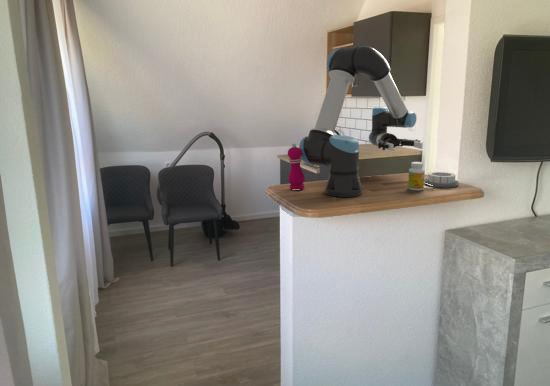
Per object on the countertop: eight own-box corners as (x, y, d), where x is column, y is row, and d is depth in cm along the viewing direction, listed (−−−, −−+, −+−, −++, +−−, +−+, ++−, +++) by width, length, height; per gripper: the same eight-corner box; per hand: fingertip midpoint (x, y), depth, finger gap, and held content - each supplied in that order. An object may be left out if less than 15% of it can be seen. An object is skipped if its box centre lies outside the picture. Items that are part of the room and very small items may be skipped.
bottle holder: (426, 187, 179) (427, 177, 177) (421, 180, 192) (422, 171, 191) (461, 188, 176) (462, 177, 175) (454, 181, 189) (454, 171, 188)
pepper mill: (303, 185, 185) (300, 141, 178) (307, 190, 178) (304, 144, 172) (287, 187, 184) (284, 142, 178) (290, 192, 177) (286, 146, 171)
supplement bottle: (405, 189, 176) (406, 163, 174) (411, 186, 181) (413, 160, 178) (419, 191, 172) (421, 164, 170) (425, 188, 177) (427, 162, 174)
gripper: (410, 147, 205) (433, 153, 185) (362, 150, 201) (380, 156, 181) (411, 131, 203) (434, 136, 183) (362, 134, 200) (380, 139, 179)
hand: (407, 146), depth 182 cm, fingers open, 13 cm apart
